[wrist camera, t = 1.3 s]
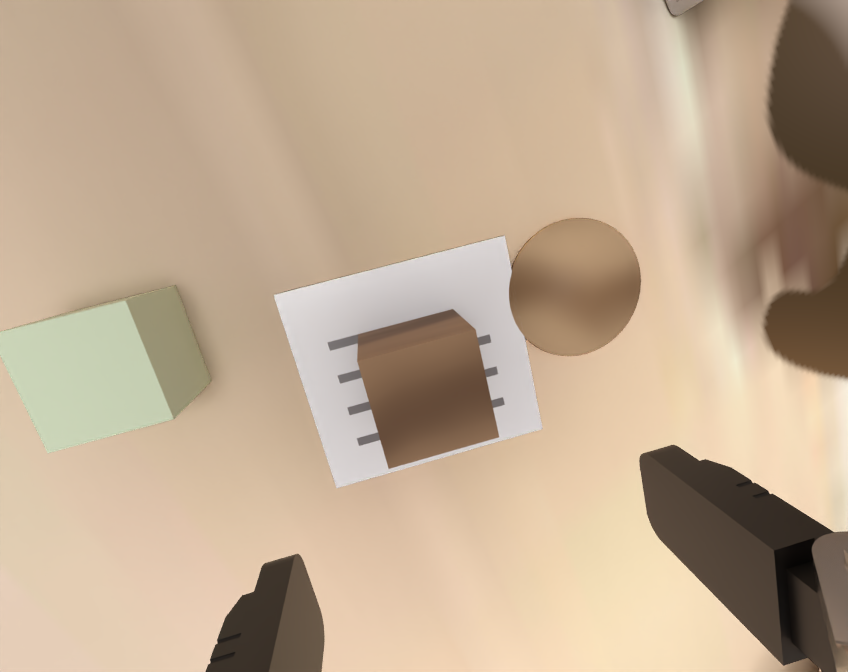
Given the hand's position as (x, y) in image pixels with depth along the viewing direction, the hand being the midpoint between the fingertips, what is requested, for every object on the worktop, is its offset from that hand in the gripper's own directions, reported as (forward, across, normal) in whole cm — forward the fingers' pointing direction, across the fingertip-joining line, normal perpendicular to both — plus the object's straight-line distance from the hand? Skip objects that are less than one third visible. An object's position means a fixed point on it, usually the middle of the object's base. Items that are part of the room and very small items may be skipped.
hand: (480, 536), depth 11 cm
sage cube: (+17, +14, -4) cm, 22 cm away
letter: (+17, 0, +1) cm, 17 cm away
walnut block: (+17, 0, +1) cm, 17 cm away
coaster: (+17, -10, -1) cm, 20 cm away
